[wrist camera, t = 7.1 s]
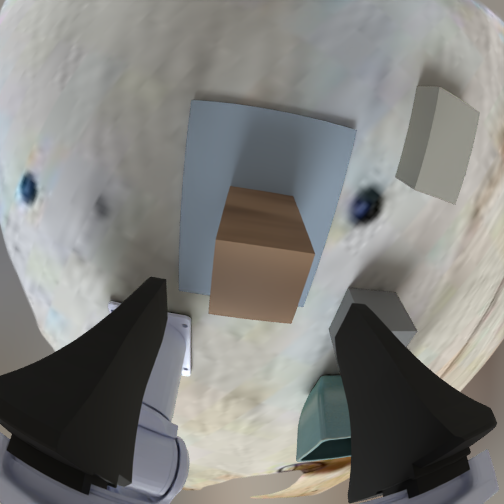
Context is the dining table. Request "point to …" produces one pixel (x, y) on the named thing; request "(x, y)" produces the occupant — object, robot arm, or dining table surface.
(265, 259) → the tall walnut block
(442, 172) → the pale grey block
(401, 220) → the dining table surface
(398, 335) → the grey cube
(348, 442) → the flower pot
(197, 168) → the slate mat
